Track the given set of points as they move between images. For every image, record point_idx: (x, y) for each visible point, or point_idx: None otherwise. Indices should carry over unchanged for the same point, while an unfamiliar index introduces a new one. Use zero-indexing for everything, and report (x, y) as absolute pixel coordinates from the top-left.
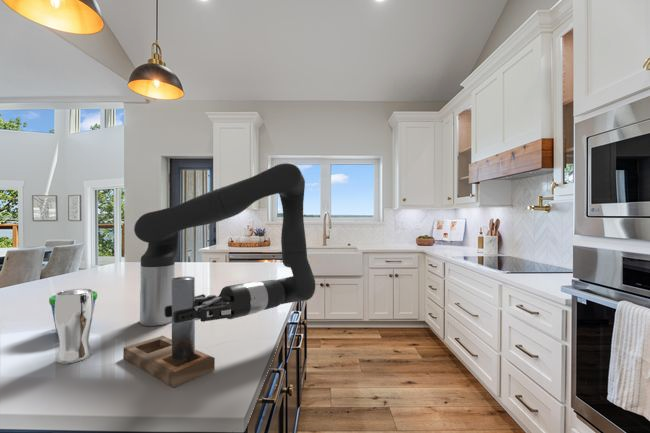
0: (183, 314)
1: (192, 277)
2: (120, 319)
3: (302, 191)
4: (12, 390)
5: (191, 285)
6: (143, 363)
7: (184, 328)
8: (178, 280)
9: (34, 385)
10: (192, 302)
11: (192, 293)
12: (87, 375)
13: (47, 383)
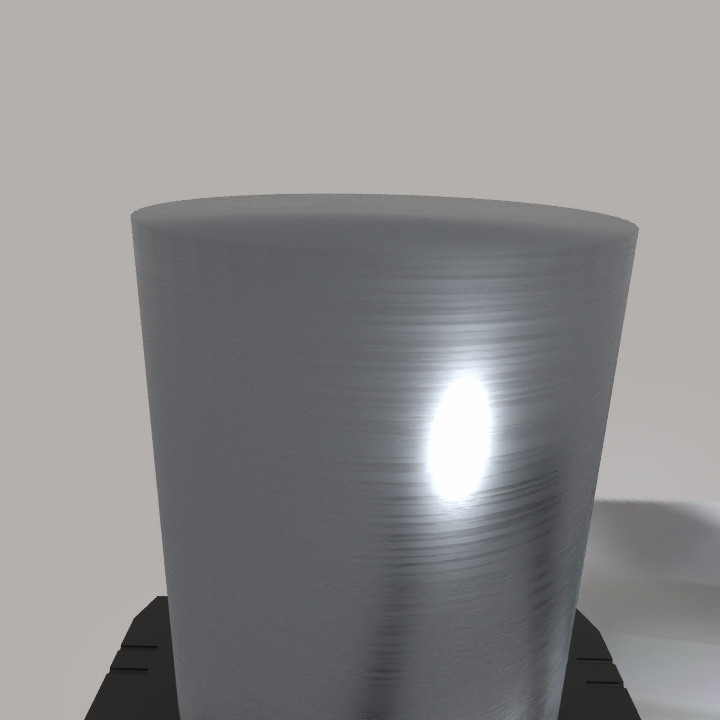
0: (125, 646)
1: (351, 240)
2: None
3: None
4: (604, 508)
5: (146, 369)
6: None
7: None
8: (261, 195)
9: (616, 540)
10: (183, 712)
11: (169, 557)
12: (635, 655)
13: (615, 561)
